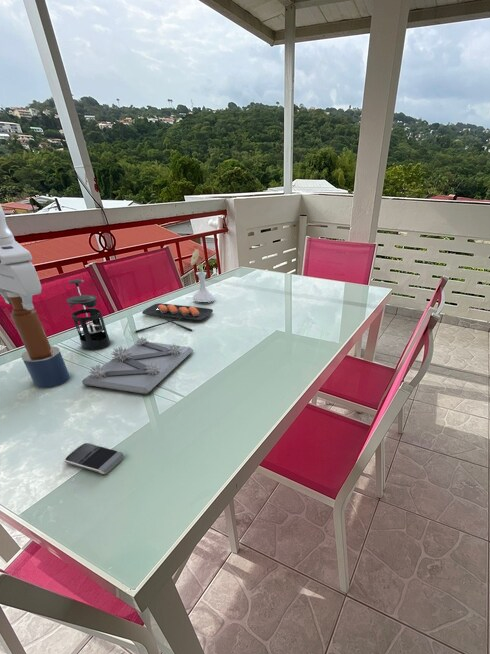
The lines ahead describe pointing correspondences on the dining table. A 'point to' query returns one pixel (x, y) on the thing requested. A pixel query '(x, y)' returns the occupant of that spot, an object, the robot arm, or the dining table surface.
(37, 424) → the dining table surface
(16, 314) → the bottle
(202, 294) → the flower in vase
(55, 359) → the tin can
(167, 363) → the decorative plate
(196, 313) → the sushi plate
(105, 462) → the cell phone
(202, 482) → the dining table surface
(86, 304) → the french press
